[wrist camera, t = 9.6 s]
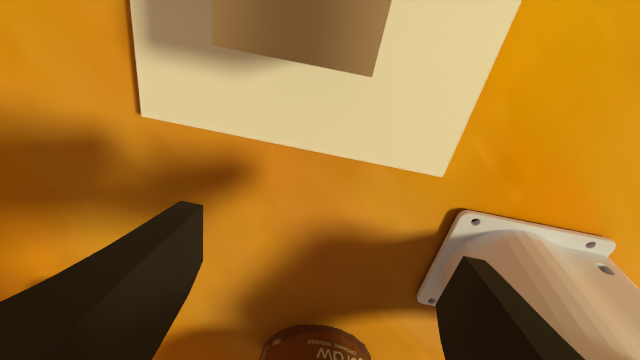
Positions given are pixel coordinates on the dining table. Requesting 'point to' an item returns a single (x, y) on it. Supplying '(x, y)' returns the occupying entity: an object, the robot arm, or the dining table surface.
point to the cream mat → (327, 82)
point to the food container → (314, 345)
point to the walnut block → (304, 30)
